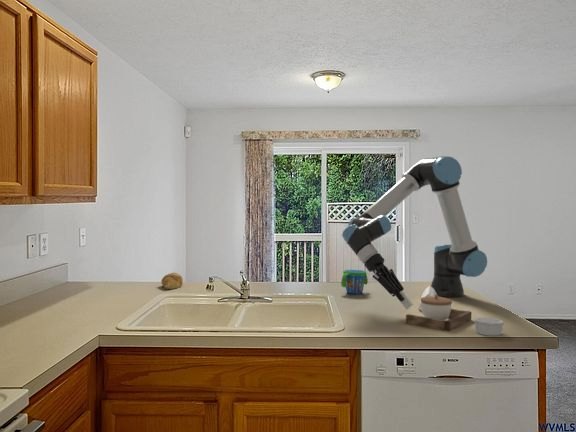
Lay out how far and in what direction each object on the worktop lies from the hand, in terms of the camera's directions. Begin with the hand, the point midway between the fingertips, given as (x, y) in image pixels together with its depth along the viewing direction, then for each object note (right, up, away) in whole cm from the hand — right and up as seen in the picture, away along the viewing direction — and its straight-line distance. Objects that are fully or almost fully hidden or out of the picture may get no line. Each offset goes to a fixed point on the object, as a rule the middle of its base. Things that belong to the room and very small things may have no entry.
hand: (409, 307), depth 187 cm
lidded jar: (+8, -4, -6) cm, 11 cm away
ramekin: (+21, -5, -21) cm, 30 cm away
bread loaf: (-102, -1, +57) cm, 117 cm away
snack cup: (-14, -2, +47) cm, 49 cm away
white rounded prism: (+12, -4, +19) cm, 23 cm away
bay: (+8, -4, -7) cm, 11 cm away
